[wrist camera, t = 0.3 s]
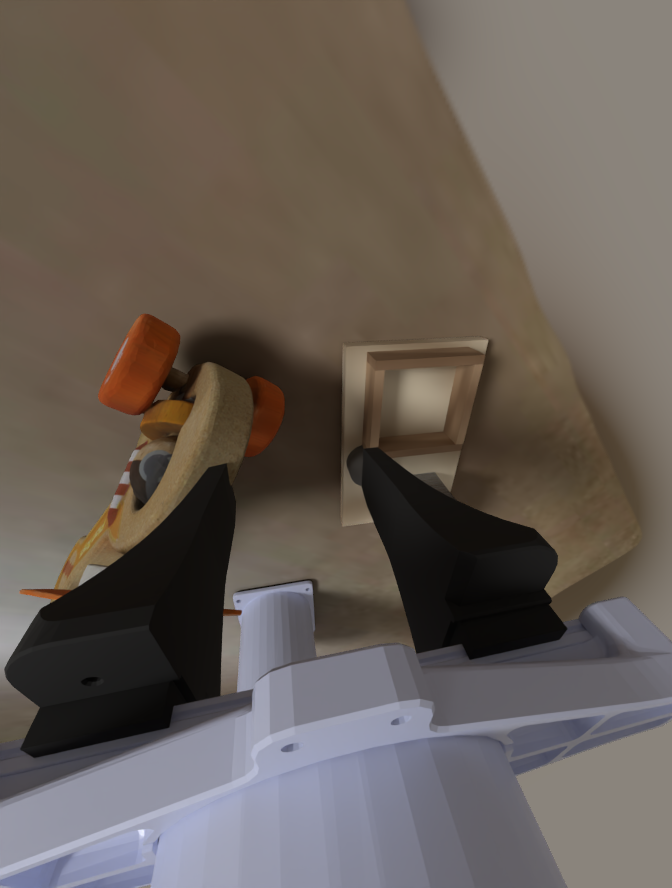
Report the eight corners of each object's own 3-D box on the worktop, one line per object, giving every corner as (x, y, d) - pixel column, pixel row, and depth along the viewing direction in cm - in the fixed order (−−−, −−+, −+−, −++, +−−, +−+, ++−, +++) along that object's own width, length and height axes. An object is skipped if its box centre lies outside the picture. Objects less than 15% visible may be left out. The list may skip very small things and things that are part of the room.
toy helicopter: (291, 362, 20) (352, 573, 11) (148, 525, 29) (118, 719, 20) (157, 274, 15) (72, 539, 6) (30, 505, 23) (-84, 758, 14)
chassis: (440, 504, 31) (456, 527, 28) (340, 518, 29) (347, 543, 27) (480, 336, 22) (507, 347, 20) (342, 342, 21) (353, 355, 18)
